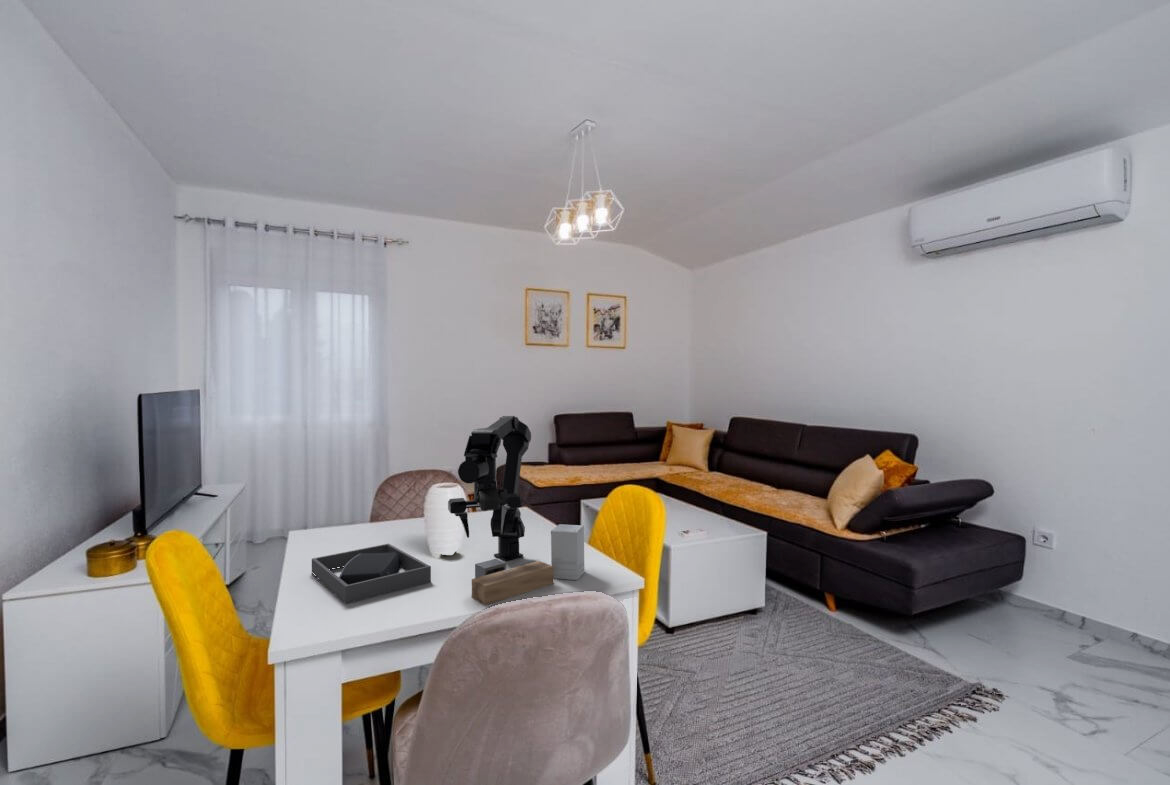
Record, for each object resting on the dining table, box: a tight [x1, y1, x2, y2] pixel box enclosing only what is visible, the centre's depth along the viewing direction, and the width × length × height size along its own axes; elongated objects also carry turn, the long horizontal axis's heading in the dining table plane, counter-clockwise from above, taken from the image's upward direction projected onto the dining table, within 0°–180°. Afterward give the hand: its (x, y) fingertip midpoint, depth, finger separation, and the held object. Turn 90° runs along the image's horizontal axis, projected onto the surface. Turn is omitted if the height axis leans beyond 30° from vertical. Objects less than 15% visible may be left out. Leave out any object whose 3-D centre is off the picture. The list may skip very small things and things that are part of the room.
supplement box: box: [550, 523, 586, 581], centre depth 141 cm, size 7×7×13 cm
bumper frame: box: [311, 543, 432, 605], centre depth 140 cm, size 28×21×4 cm
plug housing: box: [474, 558, 507, 578], centre depth 139 cm, size 5×6×4 cm
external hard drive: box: [338, 552, 400, 585], centre depth 140 cm, size 13×19×4 cm
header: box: [471, 560, 554, 606], centre depth 132 cm, size 11×20×4 cm, turn 132°
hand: (485, 535), depth 140 cm, fingers open, 9 cm apart
